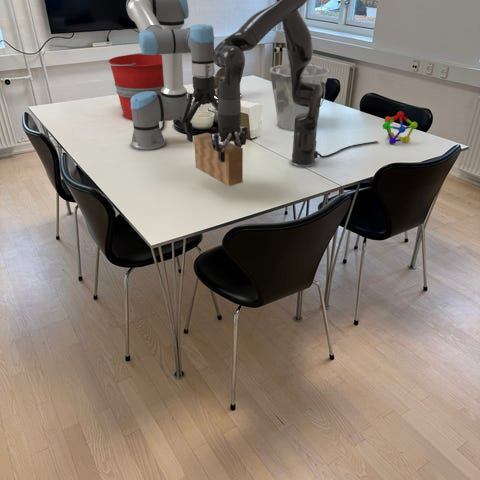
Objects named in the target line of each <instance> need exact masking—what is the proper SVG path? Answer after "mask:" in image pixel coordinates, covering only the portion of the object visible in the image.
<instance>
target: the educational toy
mask: <svg viewBox="0 0 480 480" xmlns="http://www.w3.org/2000/svg"><path fill="white" fill-rule="evenodd" d="M397 119H399V124H400V125H399V127H398V126H393V125H391V124H392V123H394V122H395V121H396V120H397ZM403 120H404V121H405V122H407V123H408V124H409V125H407V126H404V123H403ZM417 127H418V122H417V121H411V120H410V119H409V118H408V117H406V116H405V113H404V112H403V111H401V110H400V111H398V112H397V114H396V115H394V116H391V117H390V116H386V117H385V118H384V122H383V123H382V129H383V130H386V132H387V138H388V142H389V145H395V144H396V143H397V142H402V141H403V142H404V143H409V142H410V140H411V138H410V136H411V134H412V132H413V131H414V130H415V129H417ZM392 129H393V130H397V131H398V132H396V134H395V133H394V132H392ZM408 129H409V131H408V133H407V134H406V135H404V136H401V134H403V133H405V132H406V130H408ZM399 135H400V136H399Z"/></svg>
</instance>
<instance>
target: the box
mask: <svg viewBox="0 0 480 480" xmlns="http://www.w3.org/2000/svg"><path fill="white" fill-rule="evenodd" d="M219 139H220V137H219ZM219 139H218V140H219ZM193 142H194V159H195V160H194V161H195V162H194V163H195V168H196V169H197V170H199V171H201V172H202V173H204V174H206V175H208V176H209V177H211V178H213V179H215V180H217V181H218V182H220V183H222V184H224V185H226V186H227V187H232V186H235V185H238V184H242V183H243V181H244V180H243V174H244V173H243V170H244V169H243V166H244V165H243V163H244V156H243V155H244V153H243V152H244V148H243V147H238V146H236V145H235V144H234V143H231V142H228V145H227V146H226V147H225V150H224V152H225V162H223V163H222V162H220V160H219V159H218V152H217V151H215V150H213V146H212V140H211V133H209V132H204V133H200V134H195V135H193ZM224 142H225V141H223V143H224Z"/></svg>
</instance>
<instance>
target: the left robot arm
mask: <svg viewBox="0 0 480 480" xmlns="http://www.w3.org/2000/svg"><path fill="white" fill-rule="evenodd" d="M125 9H126V10H125V11H126V13H127V15H128V17H129V18H130V20H131V21H133V22H134V23H135V25H136V27H137V29H138V31H139V34H138V43H139V47H140V51H141V52H140V53H143V54H144V55H162V64H163V79H164V87H163V88H162V89H161V95H157V94H156V92H154V91H146V92H141V93H138V94H135V95H134V96H132V98H131V109H132V118H133V120H132V125H133V132H132V135H131V147H132V148H134V149H135V150H141V151H151V150H153V151H154V150H157V149H161V148H163V147H164V146H165V144H166V140H165V137H164V135H163V132H162V131H163V130H164V127H165V122H167V121H179V122H181V123H183V126H184V132H185V133H186V141H188V142H190V143H193V142H194V133H193V132H194V131H193V123H192V120H193V118H194V116H195V114H196V113H197V111H198V110H199V108H200V107H201V106H204V105H209V104H210V105H212V106H213V108H214V109H215V110H216V112H218V100H216V99H215V98H214V95H215V94H216V95H217V98H218V87H216V89H214V87H215V75H216V73H215V71H216V70H215V63H214V61H213V53H214V50H215V35H214V34H215V33H214V27H213V26H212V25H211V24H203V23H202V24H199V23H198V24H193V25H191V26H190V27H186V28H183V26H184V25H185V20H186V19H188V18H189V14H190V13H189V12H190V11H189V4H188V0H126V3H125ZM183 54H191V55H190V56H191V75H192V88H193V92H188V89H187V88H186V87H185V86H184V70H183V69H184V68H183ZM160 122H162V126H161V127H160ZM218 131H219V125H218V124H217V132H218Z"/></svg>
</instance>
